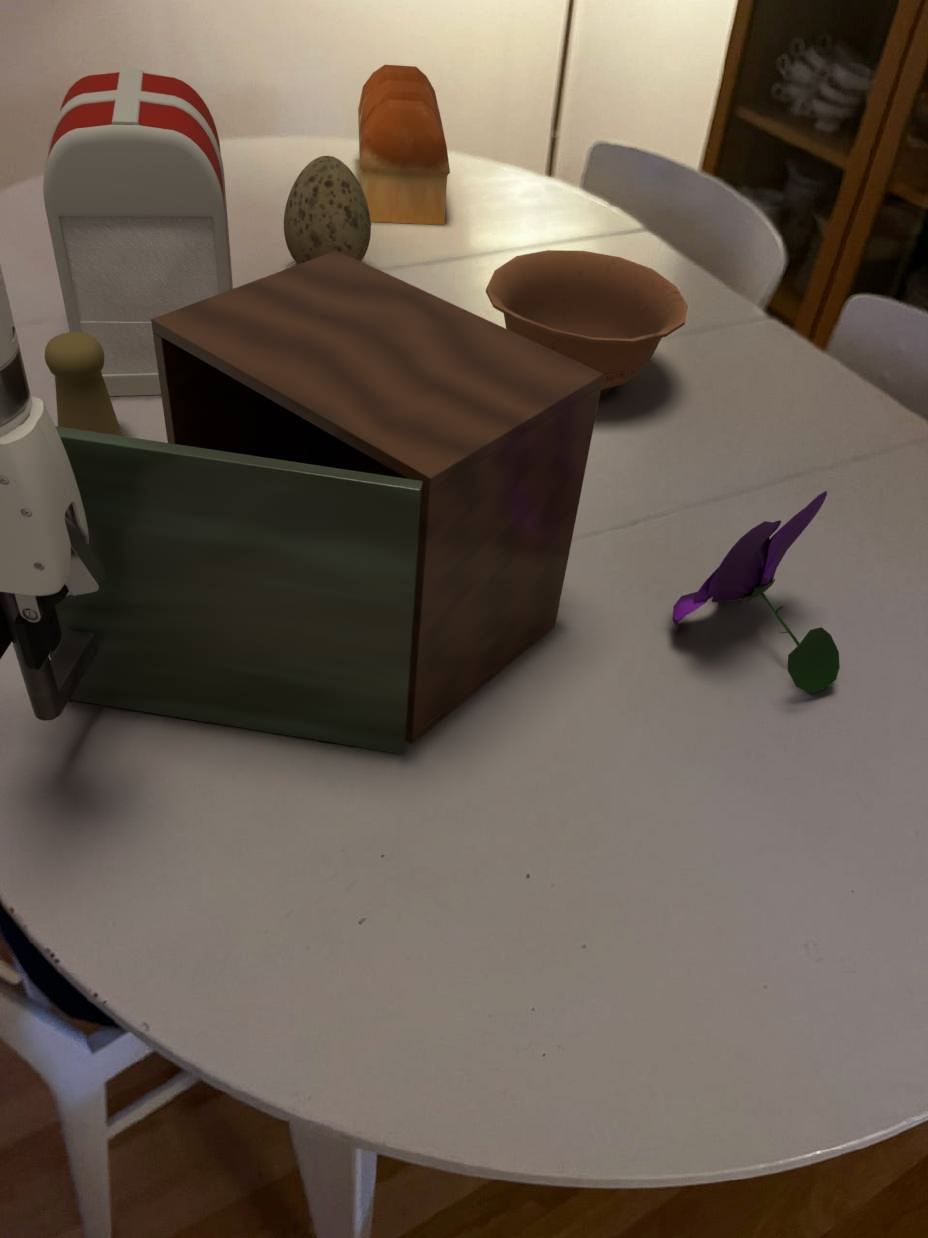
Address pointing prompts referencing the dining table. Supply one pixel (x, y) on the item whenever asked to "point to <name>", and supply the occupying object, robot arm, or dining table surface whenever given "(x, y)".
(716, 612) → the dining table surface
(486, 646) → the cupboard
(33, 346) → the dining table surface
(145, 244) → the white box red top
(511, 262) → the bowl
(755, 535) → the flower
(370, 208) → the bread
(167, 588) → the cupboard door
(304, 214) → the decorative egg
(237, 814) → the dining table surface
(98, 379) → the brown rounded tall piece
